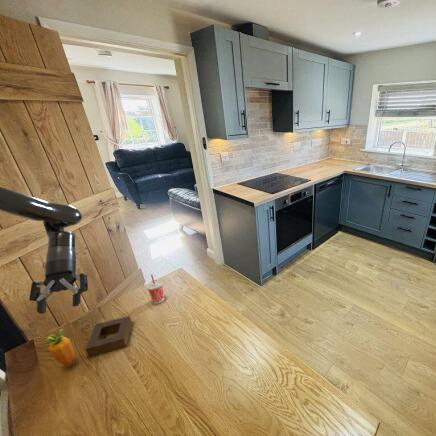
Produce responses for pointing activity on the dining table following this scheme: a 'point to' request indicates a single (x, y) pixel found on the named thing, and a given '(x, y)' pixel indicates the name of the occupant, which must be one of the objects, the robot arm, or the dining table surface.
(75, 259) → the robot arm
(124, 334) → the socket block
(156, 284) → the beverage cup
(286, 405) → the dining table surface
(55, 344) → the carrot
